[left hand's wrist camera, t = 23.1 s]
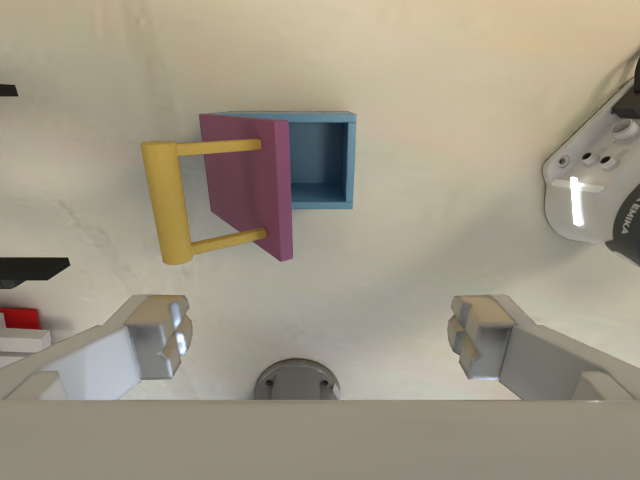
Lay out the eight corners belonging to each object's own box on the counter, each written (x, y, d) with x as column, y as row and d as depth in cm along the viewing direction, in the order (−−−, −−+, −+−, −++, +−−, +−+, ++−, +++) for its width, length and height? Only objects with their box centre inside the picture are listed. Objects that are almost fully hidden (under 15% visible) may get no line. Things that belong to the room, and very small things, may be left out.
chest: (348, 111, 44) (356, 113, 34) (346, 187, 48) (352, 209, 38) (231, 111, 44) (206, 113, 34) (238, 187, 48) (217, 209, 38)
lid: (289, 119, 22) (144, 124, 18) (293, 258, 26) (174, 292, 21) (209, 113, 34) (110, 115, 29) (220, 209, 38) (134, 224, 33)
